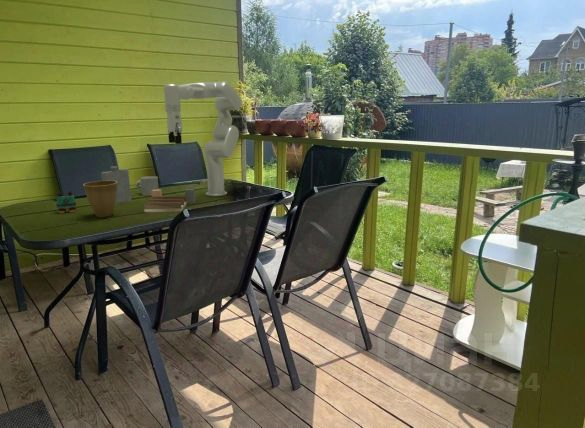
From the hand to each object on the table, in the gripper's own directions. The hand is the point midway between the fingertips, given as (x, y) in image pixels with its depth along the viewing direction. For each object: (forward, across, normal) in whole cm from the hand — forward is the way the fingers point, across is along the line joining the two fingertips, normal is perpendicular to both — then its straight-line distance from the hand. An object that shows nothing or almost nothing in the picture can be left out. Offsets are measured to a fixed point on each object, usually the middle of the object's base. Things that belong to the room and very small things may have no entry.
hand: (175, 143), depth 227 cm
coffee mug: (+33, +41, +5) cm, 53 cm away
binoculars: (+33, +18, +52) cm, 64 cm away
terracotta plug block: (+33, +11, +8) cm, 36 cm away
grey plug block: (+33, +2, -7) cm, 33 cm away
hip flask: (+33, +24, +26) cm, 49 cm away
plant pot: (+33, -3, +39) cm, 51 cm away
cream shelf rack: (+33, -5, +8) cm, 34 cm away
